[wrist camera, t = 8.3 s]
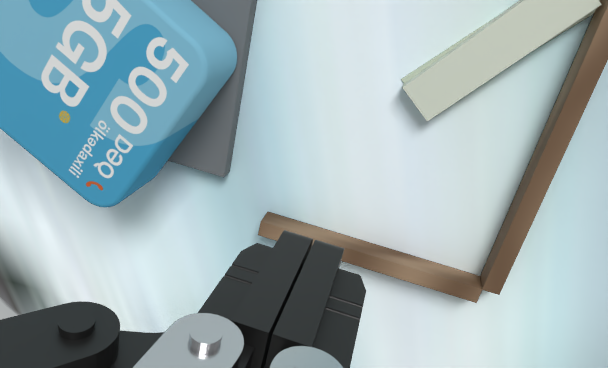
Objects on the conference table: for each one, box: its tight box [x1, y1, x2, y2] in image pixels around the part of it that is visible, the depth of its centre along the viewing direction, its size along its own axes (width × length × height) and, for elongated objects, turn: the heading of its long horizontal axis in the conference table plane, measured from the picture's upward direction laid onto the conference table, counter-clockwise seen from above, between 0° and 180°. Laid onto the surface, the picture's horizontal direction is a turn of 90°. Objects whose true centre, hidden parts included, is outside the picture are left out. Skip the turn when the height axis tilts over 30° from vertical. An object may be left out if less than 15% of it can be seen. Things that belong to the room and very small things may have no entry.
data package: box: [0, 0, 237, 207], centre depth 28 cm, size 12×4×12 cm
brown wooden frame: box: [258, 0, 608, 303], centre depth 28 cm, size 15×20×2 cm
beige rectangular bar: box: [401, 0, 602, 121], centre depth 26 cm, size 3×10×2 cm, turn 126°
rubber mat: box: [168, 0, 257, 177], centre depth 30 cm, size 8×14×1 cm, turn 168°
